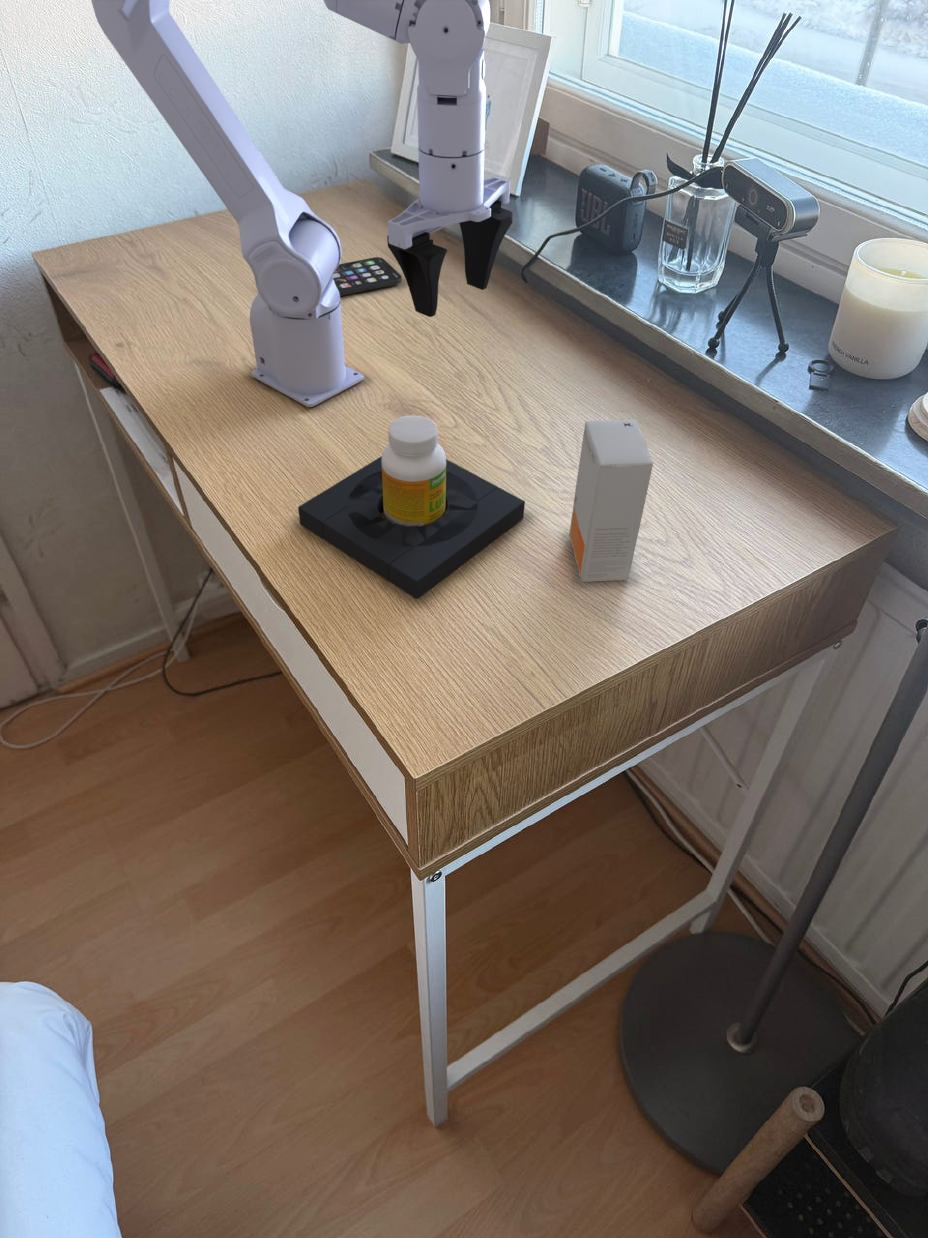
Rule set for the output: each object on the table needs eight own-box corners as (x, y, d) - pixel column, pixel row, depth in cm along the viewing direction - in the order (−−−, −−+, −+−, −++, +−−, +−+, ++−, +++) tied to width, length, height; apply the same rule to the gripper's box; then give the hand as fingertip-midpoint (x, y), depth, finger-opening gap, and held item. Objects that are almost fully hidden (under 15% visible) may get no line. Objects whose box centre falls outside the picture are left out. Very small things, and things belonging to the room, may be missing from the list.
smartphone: (270, 277, 108) (380, 255, 113) (271, 282, 109) (380, 260, 114) (290, 302, 104) (404, 278, 109) (291, 307, 104) (404, 283, 109)
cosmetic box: (566, 536, 76) (583, 418, 67) (614, 535, 76) (637, 417, 68) (579, 584, 72) (599, 464, 63) (629, 582, 72) (656, 463, 63)
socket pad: (300, 524, 76) (297, 506, 75) (409, 456, 84) (409, 438, 82) (417, 599, 70) (416, 581, 68) (523, 518, 78) (525, 500, 76)
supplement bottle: (437, 546, 75) (438, 451, 68) (377, 536, 75) (371, 442, 68) (450, 508, 78) (452, 414, 71) (393, 499, 79) (389, 406, 72)
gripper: (429, 180, 69) (432, 339, 79) (539, 136, 77) (529, 286, 86) (366, 160, 72) (376, 315, 82) (478, 120, 80) (475, 266, 90)
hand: (451, 299), depth 84 cm, fingers open, 7 cm apart
